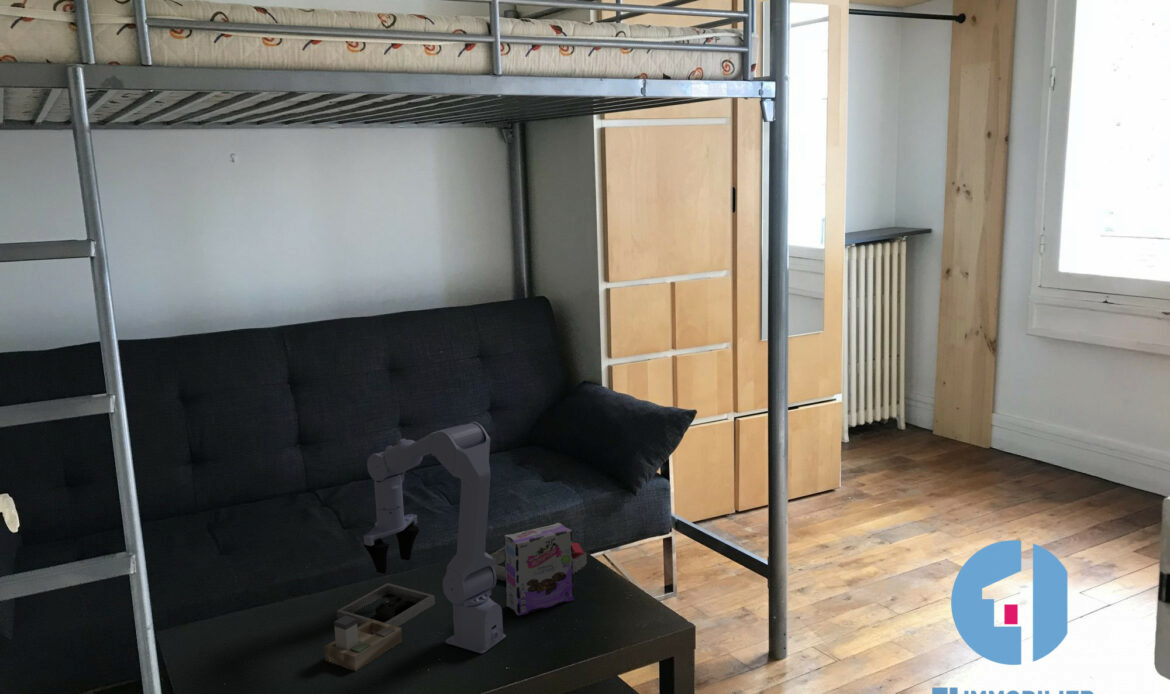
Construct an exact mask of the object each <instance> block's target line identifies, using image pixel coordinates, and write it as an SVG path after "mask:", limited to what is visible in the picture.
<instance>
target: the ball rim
mask: <svg viewBox="0 0 1170 694" xmlns="http://www.w3.org/2000/svg"><path fill="white" fill-rule="evenodd" d="M572 552H574V551H573V550H572ZM583 552H584V551H583ZM489 555H490V556H491V557H492V558H493V559H494V560H495V561H494V568H495V572H496V578H497V580H500V581H503V582H506V572H505V571H506V570H505V566H502V565H500V564H501V563H503V562H505V545H504V546H503V547H501V548H500V549H498V550H496V551H495V552H493V553H491V554H489ZM573 555H574V553H572V557H573ZM587 555H588V554H587V552H584V554H580V555H579V556H577V557H576V558H574V559H573V560H572V562H573V575H574V574H576V573H577V572H579V571H580V570H582V569H583V568H584V567H586V566H587V565H586V564H588V561H587V560H588V559H587V558H588V557H587ZM585 565H586V566H585ZM582 567H583V568H582ZM578 570H579V571H578ZM575 572H576V573H575Z"/></svg>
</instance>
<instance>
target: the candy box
mask: <svg viewBox="0 0 1170 694" xmlns="http://www.w3.org/2000/svg"><path fill="white" fill-rule="evenodd" d="M572 533H573V531H572V529H570V528H568V527H566V526H565V525H564V524H562V523H560V522H556V523H553V524H550V525H547V526H542V527H537V528H532V529H528V530H523V531H519V532H515V533H511V534H504V537H503V538H504V546H505V561H504V562H505V563H504V565H505V566H504V567H505V570H506V571H505V572H506V581H505V591H506V592H505V597H506V598H505V599H506V601H505V602H506V606H507V607H508V608H509V609H510V610H511V611H512V612H513V613H514V614H515V615H517V616H523V615H526V614H530V613H532V612H537V611H540V610H543V609H548V608H550V607H551V608H552V607H554V606H558V605H562V604H566V603H569V602H572V601H574V599H575V598H574V595H575V594H574V574H573V562H572V543H573V536H572V535H573V534H572Z"/></svg>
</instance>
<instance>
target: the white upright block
mask: <svg viewBox="0 0 1170 694" xmlns="http://www.w3.org/2000/svg"><path fill="white" fill-rule="evenodd" d="M333 625H334V637H335V640H336V647H337V648H340V649H343V650H346V651H347V650H349V649H350V648H352V647H353V646H355V645H356V644H358V629H357V628H358V626H357V619H356V618H353V617H349V616H346V615H345V616H343V617H342V618H340V619H338V620H337V619H335V620H334V621H333Z"/></svg>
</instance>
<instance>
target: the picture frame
mask: <svg viewBox="0 0 1170 694" xmlns="http://www.w3.org/2000/svg"><path fill="white" fill-rule="evenodd" d="M388 594H389V595H393V596H395V597H396V596H397V597H399V596H402V597H408V598H412V599H415V600H417V601H418V602H419V603H417V604H415V605H414V606H412V607H410V608H409V609H405V610H403V611H402V612H401V613H398V614H396V615H395V617H394V618H392V619H390V620H388V621H387V622H384V623H386V624H390V625H393V626H396V627H400V626H401V625H403V624H405V623H407V622H408V621H410V620H412V619H413V618H415V617H416V616H418V615H420V614H422V613H423V612H425V611H426V610H428V609H429V608H431V607H432V606H434V605H436V601H435V595H433V594H430V593H425V592H423V591H419V590H416V589H411V588H407V587H404V586H400V585H397V584H393V583H389V582H387V583H384V584H383V585H381V586H379V587H378V588H376V589H373V590H372V591H370V592H369V593H367V594H365V595H363V596H361V597H359V598H358V599H355V600H353V601H352V602H351V603H348V604H347V605H345V606H343V607H341V608H339V609H337V610H336V620H337V619H340V618H342V617H343V616H345V615H346V616H349V617H353V618H356V619H357V627H359V626H361V625H363V624H364V623H366V622H368V621H370V620H371V619H372V618H369V617H366V616H363V615H359V614H356V612H358V611H360V610H362V609H363V608H365V607H367V606H368V604H369V605H370V604H372V603H374V602H375V601H377V599H378V600H379V599H381V598H382V597H385V596H387V595H388ZM366 605H367V606H366ZM364 606H365V607H364ZM362 607H363V608H362ZM361 608H362V609H361ZM359 609H360V610H359ZM357 610H358V611H357ZM424 610H425V611H424ZM375 620H376V619H375ZM376 621H378V620H376Z"/></svg>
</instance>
